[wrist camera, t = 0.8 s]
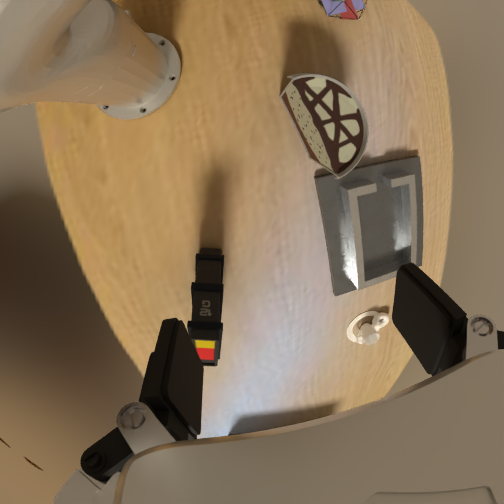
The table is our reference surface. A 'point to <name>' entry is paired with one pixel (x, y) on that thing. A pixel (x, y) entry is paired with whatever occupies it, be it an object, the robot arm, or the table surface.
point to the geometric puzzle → (343, 8)
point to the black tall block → (207, 306)
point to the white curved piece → (368, 327)
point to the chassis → (372, 222)
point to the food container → (327, 121)
